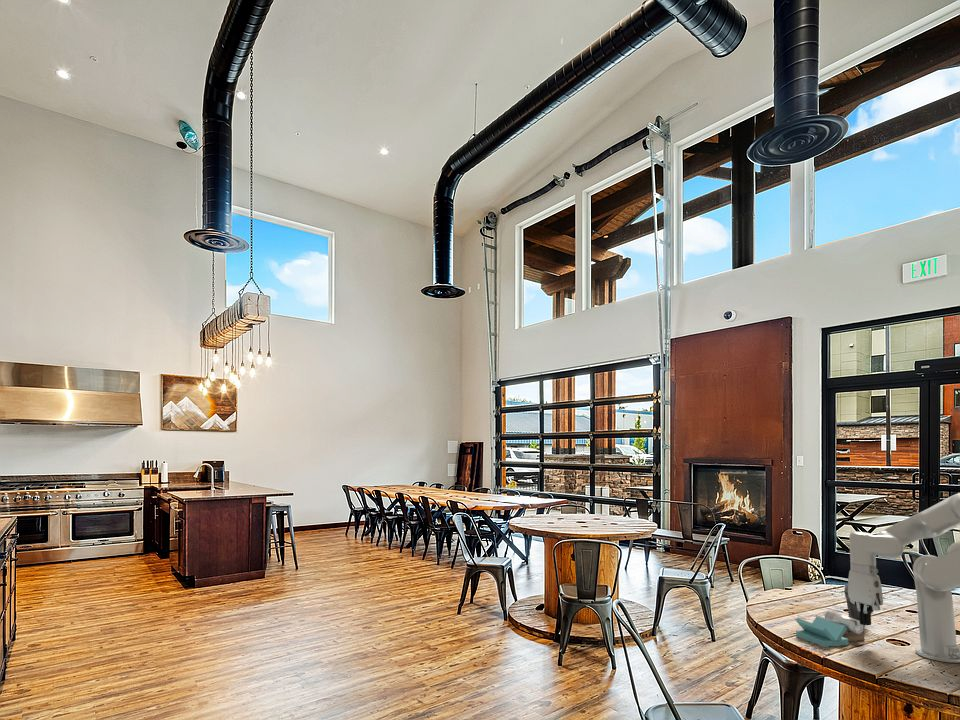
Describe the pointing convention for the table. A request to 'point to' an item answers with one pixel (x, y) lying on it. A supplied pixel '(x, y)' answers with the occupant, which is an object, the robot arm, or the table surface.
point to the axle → (845, 621)
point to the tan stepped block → (853, 636)
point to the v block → (822, 632)
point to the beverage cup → (851, 606)
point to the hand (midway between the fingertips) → (865, 624)
